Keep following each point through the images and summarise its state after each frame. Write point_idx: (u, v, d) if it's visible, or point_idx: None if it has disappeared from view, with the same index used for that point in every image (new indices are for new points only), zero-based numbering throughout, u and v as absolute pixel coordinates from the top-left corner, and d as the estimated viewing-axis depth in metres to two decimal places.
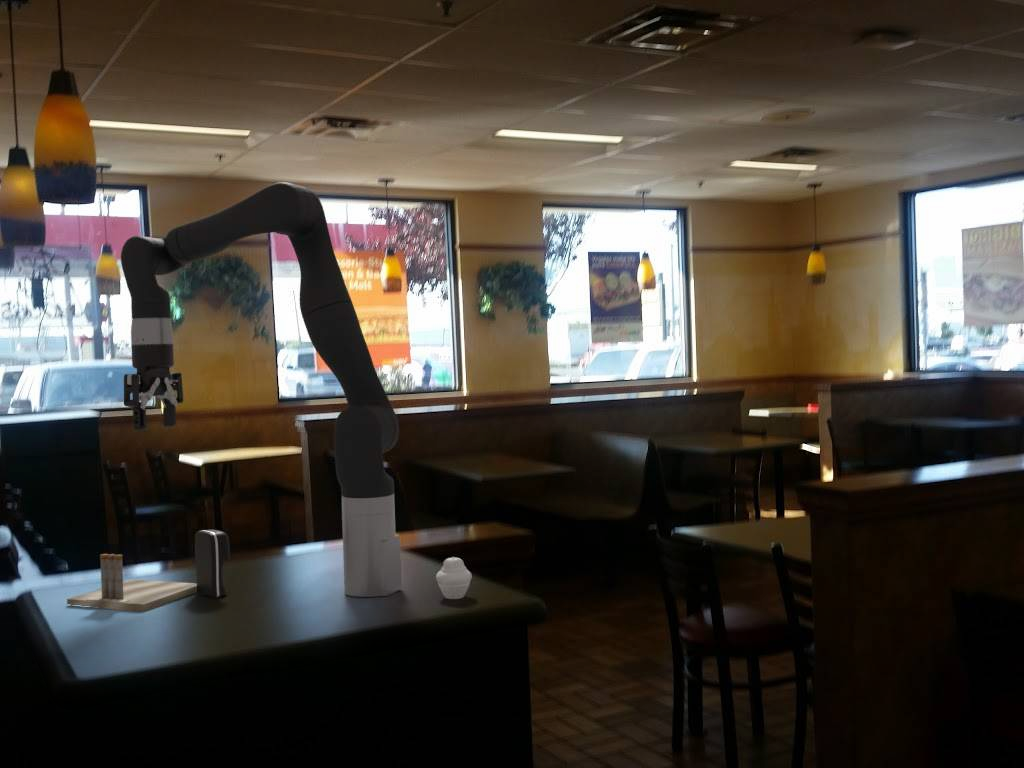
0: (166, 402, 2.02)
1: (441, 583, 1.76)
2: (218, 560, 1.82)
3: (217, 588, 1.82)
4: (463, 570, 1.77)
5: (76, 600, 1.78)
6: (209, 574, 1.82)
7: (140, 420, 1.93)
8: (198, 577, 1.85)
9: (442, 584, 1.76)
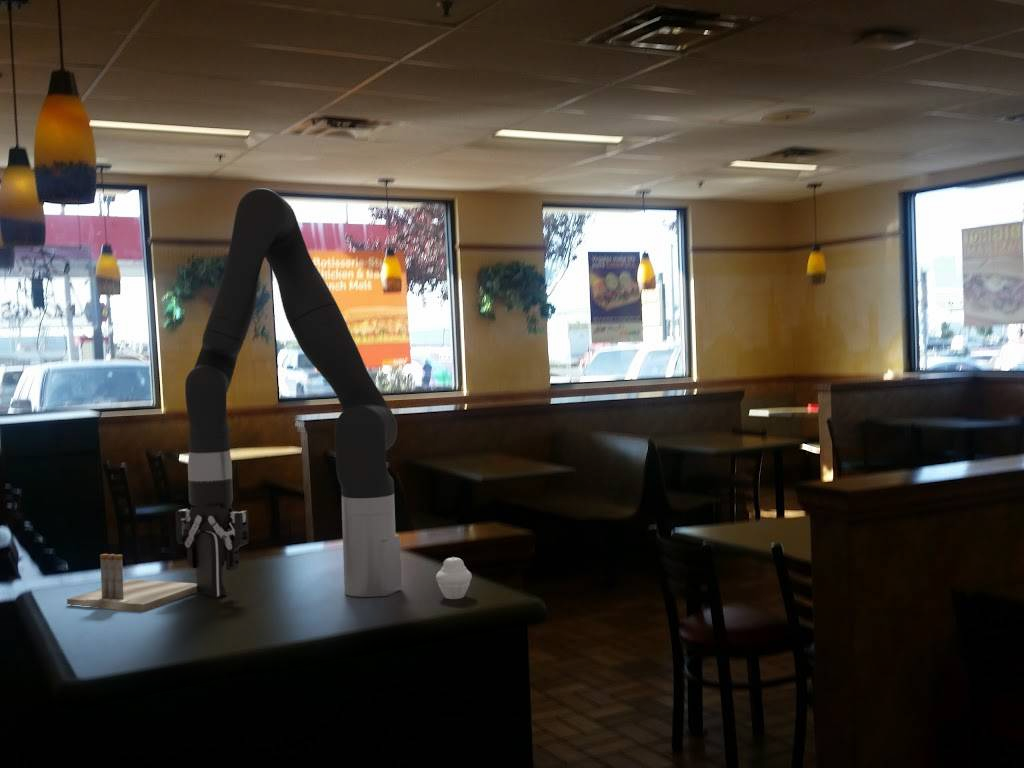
0: None
1: (441, 583, 1.76)
2: (219, 560, 1.82)
3: (217, 588, 1.82)
4: (463, 570, 1.77)
5: (76, 600, 1.78)
6: (209, 574, 1.82)
7: None
8: (198, 577, 1.85)
9: (442, 584, 1.76)
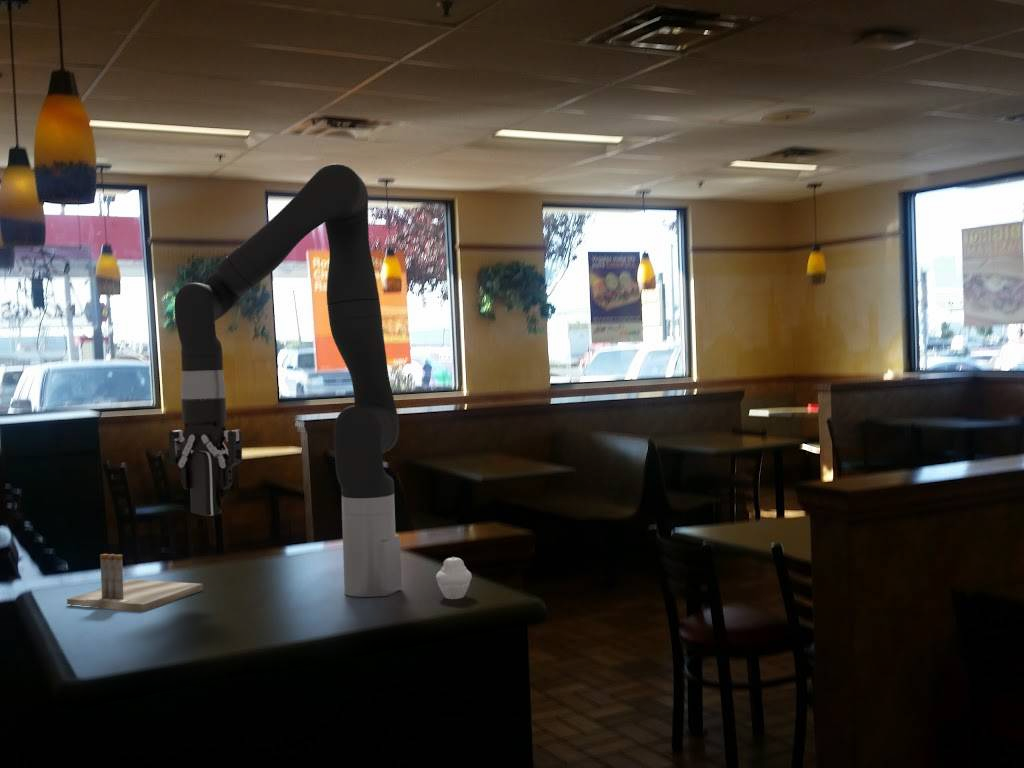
0: None
1: (441, 583, 1.76)
2: (212, 478, 1.82)
3: (211, 507, 1.82)
4: (463, 570, 1.77)
5: (76, 600, 1.78)
6: (203, 493, 1.82)
7: None
8: (192, 497, 1.85)
9: (442, 584, 1.76)
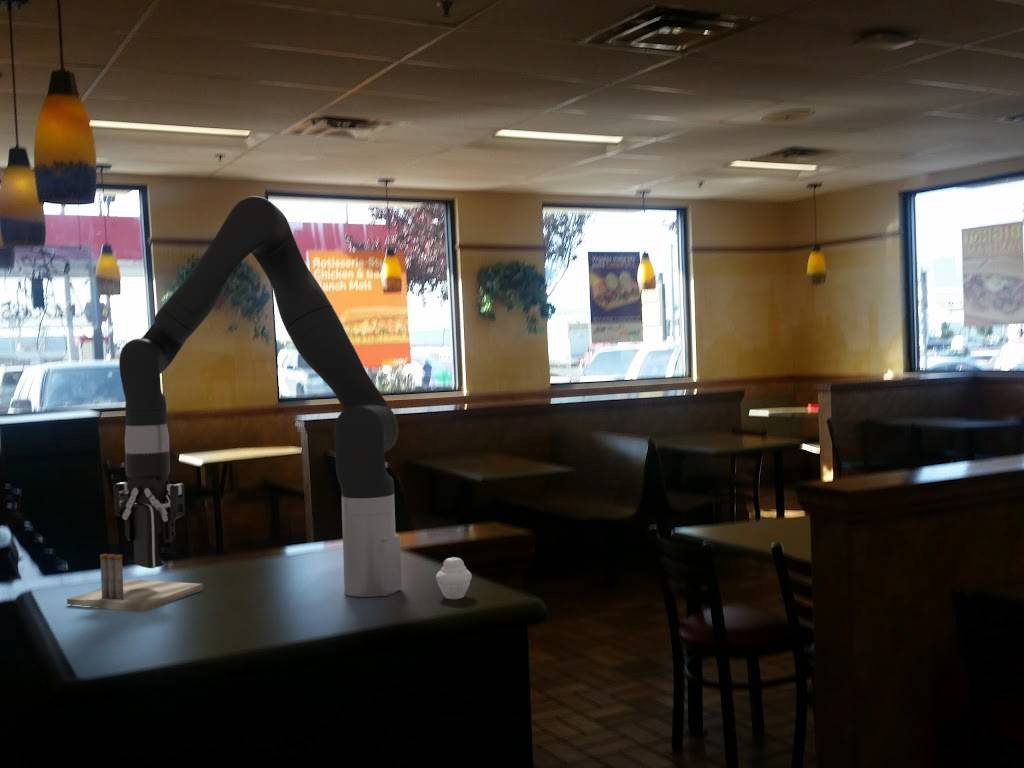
0: None
1: (441, 583, 1.76)
2: (154, 531, 1.84)
3: (153, 559, 1.84)
4: (463, 570, 1.77)
5: (76, 600, 1.78)
6: (145, 546, 1.84)
7: None
8: (135, 549, 1.88)
9: (442, 584, 1.76)
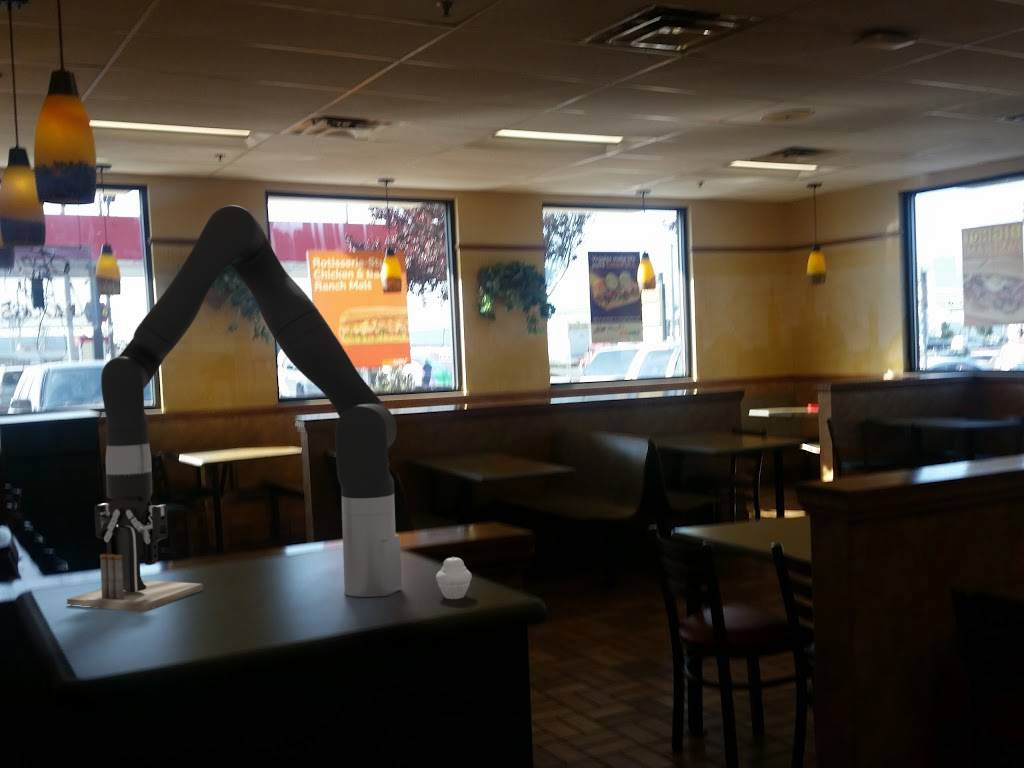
0: None
1: (441, 583, 1.76)
2: (136, 554, 1.80)
3: (135, 583, 1.80)
4: (463, 570, 1.77)
5: (76, 600, 1.78)
6: (127, 569, 1.80)
7: None
8: None
9: (442, 584, 1.76)
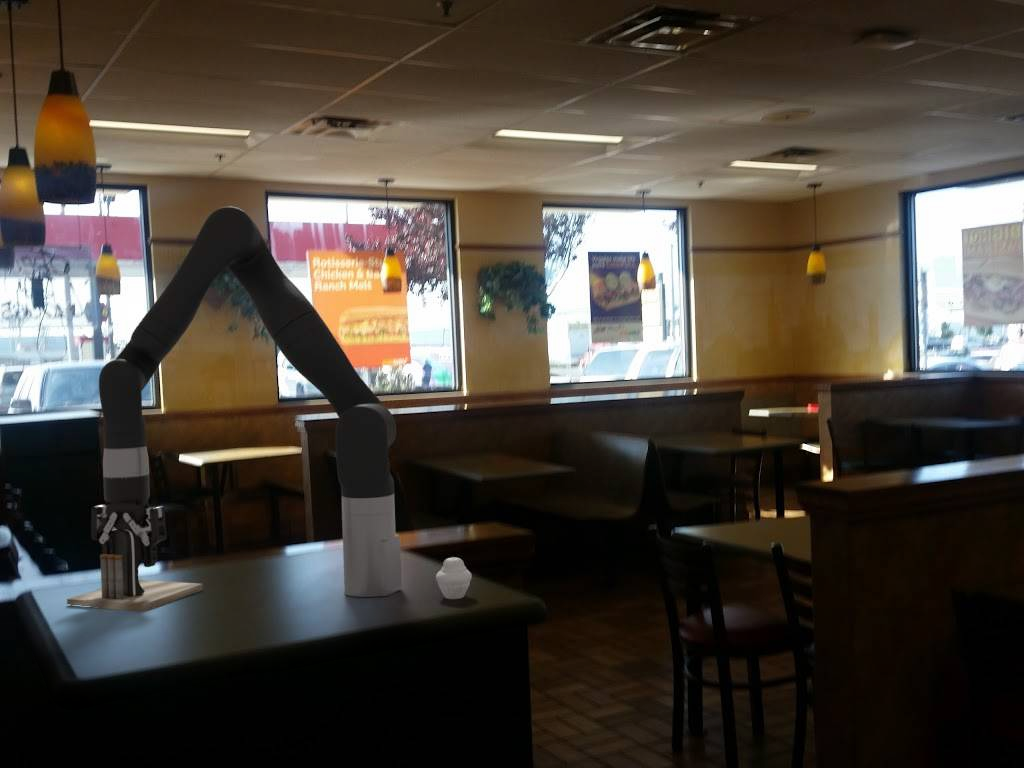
0: None
1: (441, 583, 1.76)
2: (135, 558, 1.79)
3: (133, 587, 1.79)
4: (463, 570, 1.77)
5: (76, 600, 1.78)
6: (125, 573, 1.79)
7: None
8: None
9: (442, 584, 1.76)
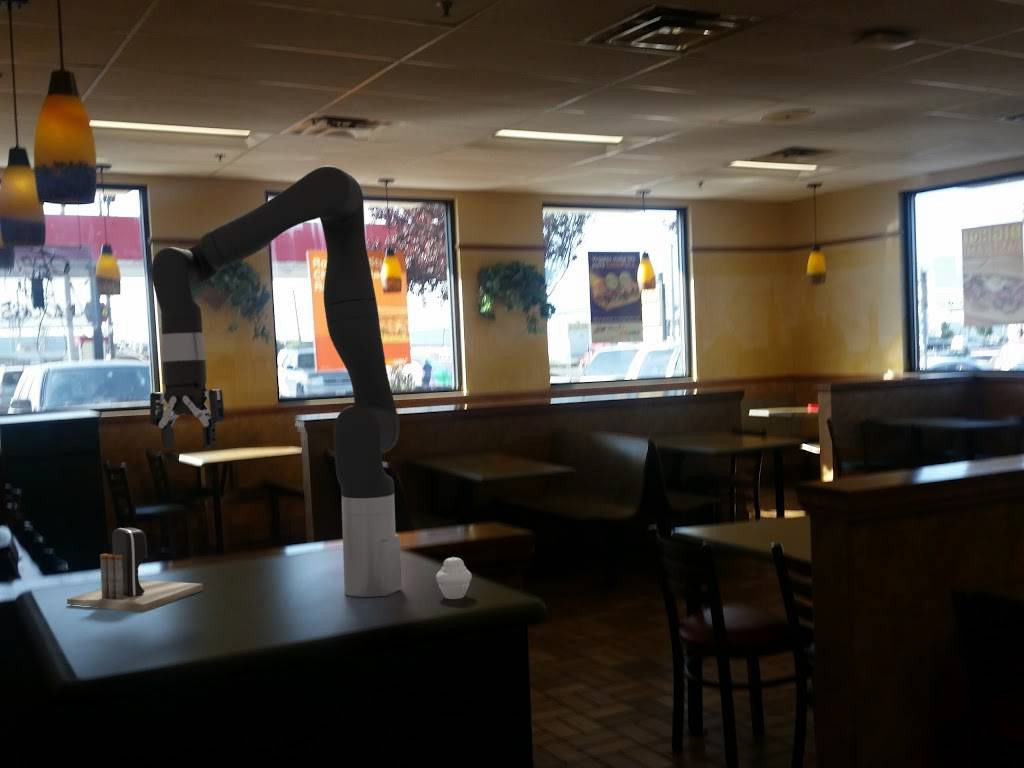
0: None
1: (441, 583, 1.76)
2: (135, 558, 1.79)
3: (133, 587, 1.79)
4: (463, 570, 1.77)
5: (76, 600, 1.78)
6: (125, 573, 1.79)
7: None
8: None
9: (442, 584, 1.76)
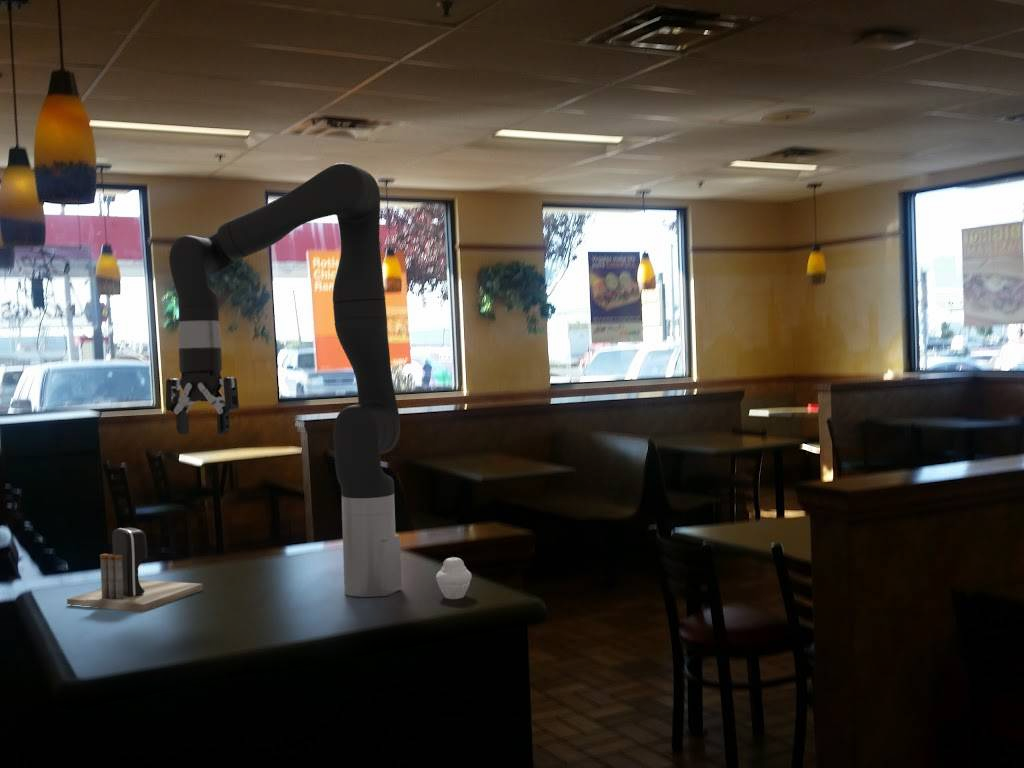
0: None
1: (441, 583, 1.76)
2: (135, 558, 1.79)
3: (133, 587, 1.79)
4: (463, 570, 1.77)
5: (76, 600, 1.78)
6: (125, 573, 1.79)
7: None
8: None
9: (442, 584, 1.76)
